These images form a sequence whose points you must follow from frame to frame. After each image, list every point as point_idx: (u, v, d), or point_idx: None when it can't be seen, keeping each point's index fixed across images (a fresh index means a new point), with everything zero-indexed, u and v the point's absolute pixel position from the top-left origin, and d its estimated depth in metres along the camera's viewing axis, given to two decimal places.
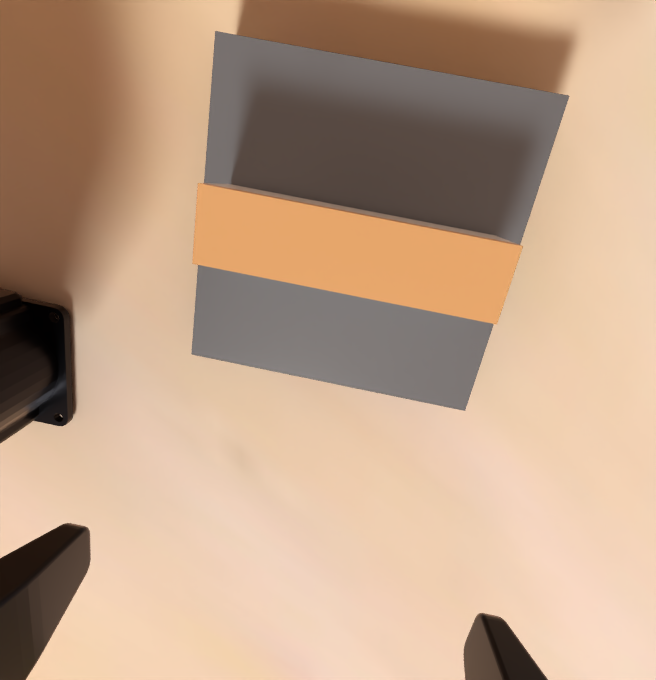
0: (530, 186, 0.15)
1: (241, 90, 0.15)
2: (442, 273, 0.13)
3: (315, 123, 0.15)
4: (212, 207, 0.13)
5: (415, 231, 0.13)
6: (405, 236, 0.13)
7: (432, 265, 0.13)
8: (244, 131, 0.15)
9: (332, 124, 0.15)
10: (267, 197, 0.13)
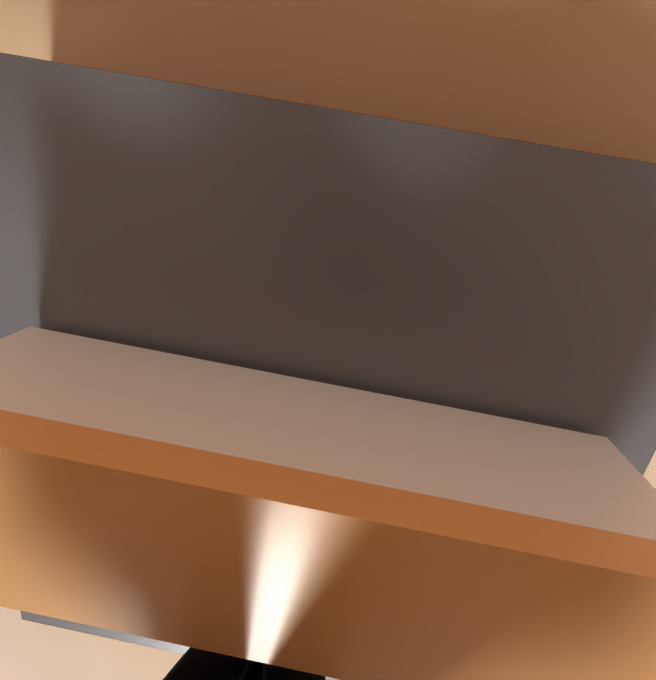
0: None
1: (33, 173, 0.07)
2: (513, 640, 0.05)
3: (199, 242, 0.07)
4: None
5: (440, 549, 0.05)
6: (410, 557, 0.05)
7: (485, 622, 0.05)
8: (52, 256, 0.07)
9: (236, 244, 0.07)
10: (19, 448, 0.05)
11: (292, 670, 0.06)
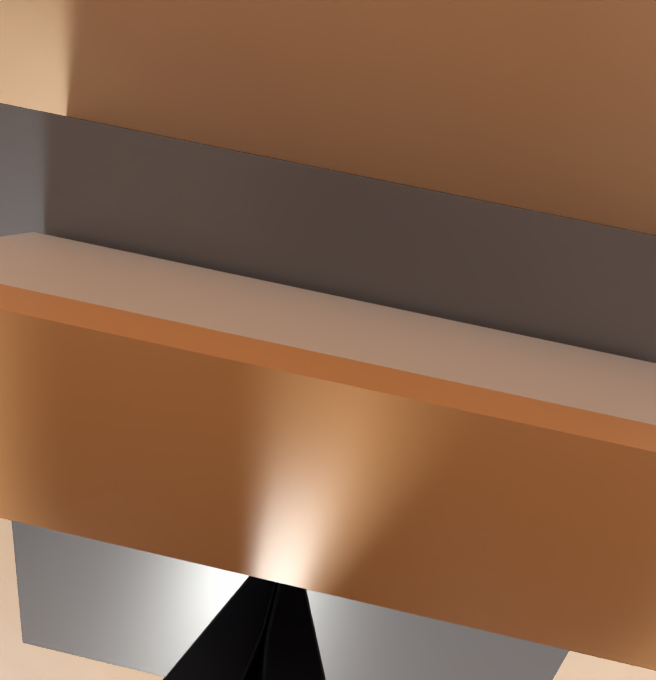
0: None
1: (48, 221, 0.07)
2: (592, 557, 0.04)
3: None
4: None
5: (516, 441, 0.04)
6: (479, 451, 0.04)
7: (562, 535, 0.04)
8: None
9: None
10: (21, 314, 0.04)
11: (292, 670, 0.06)
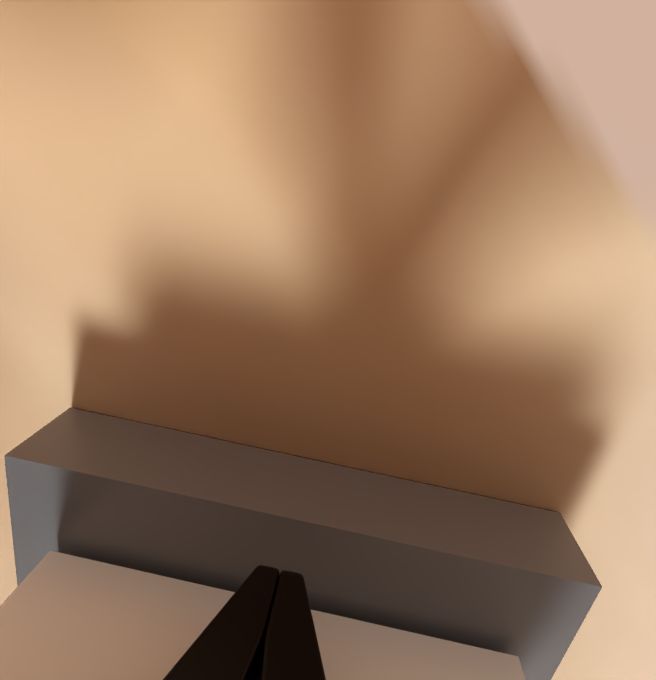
0: None
1: (59, 528, 0.09)
2: None
3: (182, 577, 0.09)
4: None
5: None
6: None
7: None
8: None
9: (210, 580, 0.09)
10: None
11: (292, 670, 0.06)
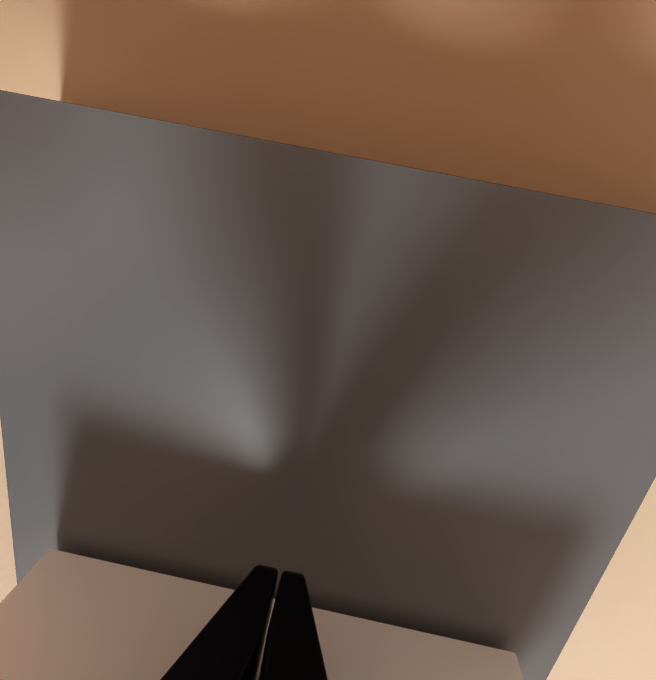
0: None
1: (43, 208, 0.07)
2: None
3: (205, 277, 0.07)
4: None
5: None
6: None
7: None
8: (60, 288, 0.07)
9: (241, 280, 0.07)
10: None
11: (294, 670, 0.06)
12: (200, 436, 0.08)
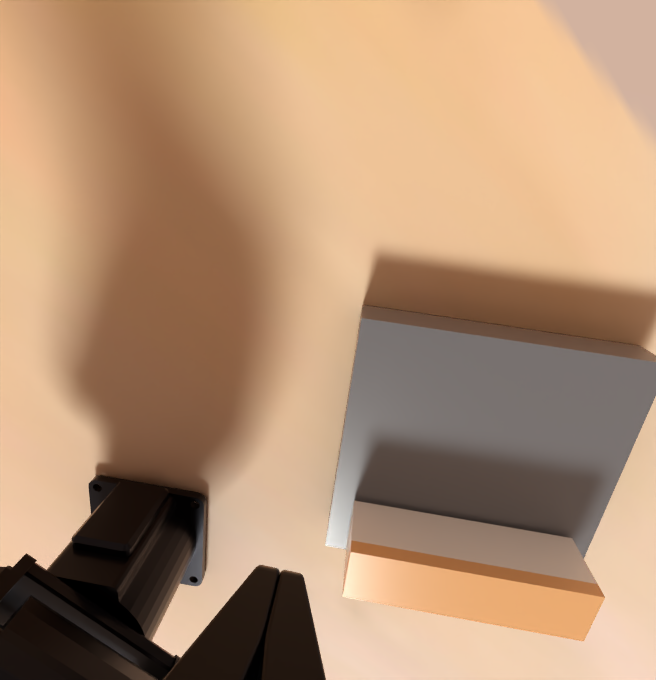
0: (633, 427, 0.18)
1: (381, 358, 0.18)
2: (540, 610, 0.17)
3: (445, 382, 0.18)
4: (360, 565, 0.17)
5: (520, 585, 0.17)
6: (512, 588, 0.17)
7: (533, 605, 0.17)
8: (382, 387, 0.18)
9: (460, 382, 0.18)
10: (404, 561, 0.17)
11: (292, 670, 0.06)
12: (433, 444, 0.19)
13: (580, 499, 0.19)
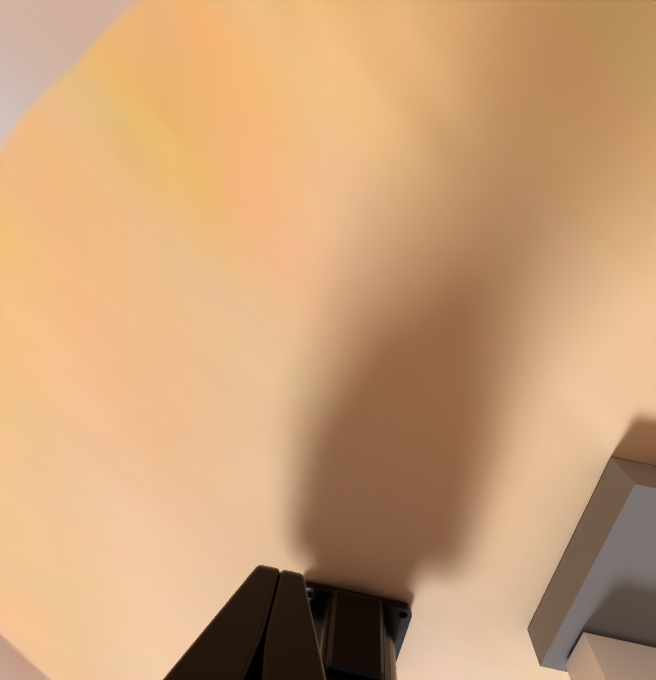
0: None
1: (644, 518, 0.19)
2: None
3: None
4: None
5: None
6: None
7: None
8: (637, 540, 0.20)
9: None
10: None
11: (292, 670, 0.06)
12: None
13: None
